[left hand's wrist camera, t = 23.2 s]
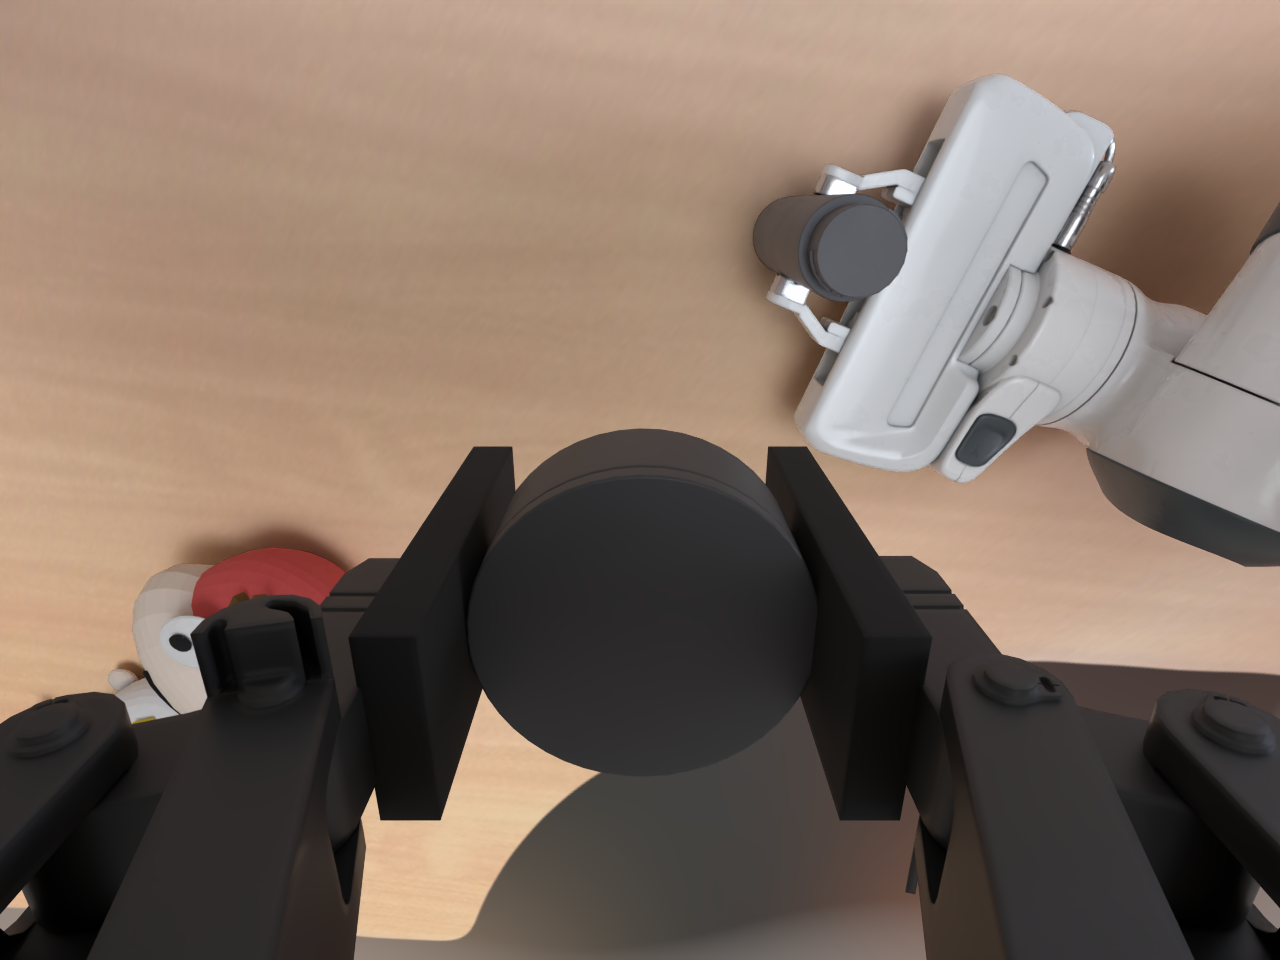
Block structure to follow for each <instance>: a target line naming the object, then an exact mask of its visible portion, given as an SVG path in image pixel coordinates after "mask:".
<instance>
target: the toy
mask: <svg viewBox="0 0 1280 960" xmlns="http://www.w3.org/2000/svg"><path fill="white" fill-rule="evenodd" d="M344 574H345V572H344V571H343V570H342V569H341V568H339V567H338V566H336V565H335V564H333V563H332V562H330V561H328V560H327V559H324V558H322V557H319V556H317V555H314V554H312V553H309V552H304V551H300V550H296V549H285V548H264V549H257V550H251V551H248V552H245V553H242V554H239V555H236V556H234V557H231V558H228V559H226V560H224V561H222V562H220V563H218V564H216V565H203V564H184V563H183V564H179V565H175V566H173V567H170V568H168V569H166V570H164V571H162V572H160V573H157V574H156V575H154V576H153V577H151V578H150V579H149V580H148V582H147V583H146V584H145V586H144V588H143V589H142V591H141V593H140V594H139V596H138V598H137V599H136V601H135V605H134V612H133V627H132V632H133V636H134V640H135V644H136V648H137V652H138V656H139V659H140V662H141V663H142V665H143V667H144V669H145V671H144V676H145V678H143V679H141V680H138V678H137V676H136V675H135V674H134V673H132V672H131V671H129V670H126V669H115V670H113V671H111V672H110V673H109V675H108V681H109V683H110V685H111V686H112V687H113V688H114V689H116V690H117V691H119V692H117V693H116V694H115V696H117V697H118V698H119V699H121V700H122V701H123V702H125V705H126V708H127V711H128V714H129V717H130V720H131V723H132V724H135V723H140V722H145V721H150V720H155V719H160V718H165V717H170V716H175V715H180V714H185V713H189V712H193V711H197V710H200V709H202V707H203V705H204V703H205V701H206V699H207V694H206V691H205V687H204V683H203V680H202V676H201V673H200V669H199V665H198V662H197V658H196V654H195V651H194V647H193V643H192V640H191V636H190V634H191V633H192V631H193V630H194V629H195V628H196V627H197V626H198V625H199V624H200V623H201V622H202V621H203V620H205V619H206V618H208V617H209V616H211V615H213V614H214V613H216V612H218V611H219V610H221V609H223V608H226V607H229V606H231V605H234V604H237V603H239V602H242V601H245V600H249V599H254V598H258V597H263V596H268V595H291V594H293V595H297V596H302V597H307V598H311V599H312V600H313V601H315V602H316V603H317V604H319V605H320V604H321V603H322V602H323V600H324V599H325V598H326V596H329V595H330V594H329V593H330V591H331V590H332V589H333V588H334V586H335V585H336V584H337V582H338V581H339V580H340V579H341V577H342V576H343V575H344Z"/></svg>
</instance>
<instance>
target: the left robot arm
mask: <svg viewBox="0 0 1280 960" xmlns="http://www.w3.org/2000/svg"><path fill="white" fill-rule="evenodd" d="M766 486H767V487H768V489H769V490H770V492H771V493H772V494H773V496H774V497H775V499H776V500H777V502H778V504H779V506H780V508H781V510H782V512H783V514H784V517H785V519H786V521H787V523H788V525H789V528H790V530H791V532H792V534H793V537H794V539H795V541H796V543H797V546H798V548H799V550H800V552H801V554H802V557H803V559H804V561H805V563H806V566H807V568H808V570H809V572H810V575H811V577H812V580H813V583H814V587H815V590H816V593H817V596H818V611H817V621H816V630H815V640H814V649H813V658H812V668H811V675H810V678H809V680H808V682H807V684H806V686H805V688H804V690H803V692H802V694H801V695H800V697H801V700H802V703H803V706H804V709H805V712H806V715H807V718H808V722H809V725H810V728H811V731H812V734H813V737H814V741H815V744H816V747H817V750H818V753H819V756H820V759H821V762H822V766H823V769H824V772H825V775H826V778H827V781H828V784H829V788H830V791H831V794H832V797H833V800H834V803H835V806H836V809H837V813H838V816H839V819H840V820H900V817H901V811H902V806H903V800H904V794H905V789H906V785H907V787H908V789H909V792H910V794H911V796H912V798H913V800H914V803H915V805H916V807H917V809H918V812H919V814H920V816H919V821H918V826H917V831H916V837H915V842H914V847H913V852H912V858H911V863H910V868H909V873H908V879H907V886H906V892H907V893H912V894H915V892H916V887H917V882H918V886H919V895H920V903H921V912H922V922H923V931H924V940H925V949H926V958H927V960H1280V928H1279V929H1277V928H1276V927H1275V926H1274V925H1272V924H1271V923H1270V922H1269V921H1268V920H1267V919H1266V918H1265V917H1264V916H1263V915H1262V913H1261V912H1260V911H1259V910H1258V909H1257V907H1256V906H1255V905H1254V904H1253V902H1254V899H1255V897H1256V895H1257V893H1258V890H1259V888H1260V886H1261V887H1262V888H1263V889H1264V891H1265V892H1266V893H1267V894H1268V895H1269V896H1270V897H1271V899H1272V900H1273V901H1274V902H1275V903H1276V904H1277V905H1278V907H1279V908H1280V719H1278V718H1277V717H1275V716H1274V715H1272V714H1271V713H1269V712H1266V711H1264V710H1262V709H1260V708H1258V707H1256V706H1253V705H1251V704H1250V703H1248V702H1247V701H1245V700H1242V699H1239V698H1236V697H1233V696H1230V697H1229V696H1227V695H1226V694H1222V693H1217V692H1210V691H1202V690H1193V689H1182V690H1175V691H1168V692H1166V693H1165V694H1164V695H1162V696H1161V697H1160V698H1158V699H1157V700H1156V704H1155V707H1154V710H1153V713H1152V716H1151V719H1150V721H1146V720H1141V719H1136V718H1131V717H1126V716H1121V715H1116V714H1111V713H1106V712H1101V711H1096V710H1092V709H1088V708H1084V707H1081V706H1077V704H1076V702H1075V699H1074V697H1073V696H1072V694H1071V693H1070V692H1069V690H1068V689H1067V688H1066V687H1065V685H1064V684H1063V683H1062V682H1061V681H1060V680H1059V679H1057V678H1056V677H1054V676H1053V675H1052V674H1050V673H1049V672H1047V671H1046V670H1045V669H1043V668H1041V667H1038V666H1036V665H1034V664H1031V663H1029V662H1027V661H1025V660H1022V659H1019V658H1015V657H1011V656H1007V655H1002V654H1001V653H1000V651H999V650H998V649H997V647H996V646H995V645H994V644H993V642H992V641H991V640H990V639H989V637H988V636H987V635H986V633H985V632H984V631H983V630H982V628H981V627H980V626H979V625H978V623H977V622H976V621H975V620H974V618H973V617H972V616H971V614H970V613H969V612H968V611H967V609H964V608H963V604H962V603H961V602H960V600H959V599H958V598H957V597H956V595H955V594H952V593H951V589H950V588H949V586H948V585H947V584H946V583H945V581H944V580H943V579H942V578H941V576H940V575H939V574H938V572H936V571H935V570H933V569H932V568H930V567H928V566H927V565H925V564H924V563H922V562H920V561H919V560H917V559H916V558H914V557H912V556H878V554H877V553H876V551H875V550H874V548H873V546H872V545H871V543H870V542H869V540H868V539H867V537H866V536H865V534H864V533H863V531H862V530H861V528H860V527H859V525H858V524H857V522H856V521H855V519H854V518H853V516H852V515H851V513H850V512H849V510H848V509H847V507H846V506H845V504H844V503H843V501H842V500H841V498H840V496H839V495H838V493H837V492H836V490H835V489H834V487H833V486H832V484H831V483H830V481H829V480H828V478H827V477H826V475H825V474H824V472H823V471H822V469H821V468H820V466H819V465H818V463H817V462H816V460H815V459H814V457H813V456H812V454H811V453H810V451H809V450H808V448H807V447H768V457H767V471H766ZM514 493H515V479H514V465H513V450H512V447H473V449H472V450H471V452H470V453H469V455H468V456H467V458H466V459H465V461H464V462H463V464H462V465H461V467H460V468H459V470H458V471H457V473H456V474H455V476H454V477H453V479H452V481H451V482H450V484H449V485H448V487H447V488H446V490H445V491H444V493H443V494H442V496H441V497H440V499H439V500H438V502H437V503H436V505H435V506H434V508H433V509H432V511H431V512H430V514H429V515H428V517H427V518H426V520H425V521H424V523H423V524H422V526H421V527H420V529H419V531H418V532H417V534H416V535H415V537H414V538H413V540H412V541H411V543H410V544H409V546H408V547H407V549H406V550H405V552H404V553H403V555H402V556H401V558H369V559H367V560H366V561H364V562H363V563H361V564H359V565H358V566H356V567H355V568H353V569H351V570H350V571H348V572H347V573H345V574H344V575H343V576H342V577H341V579H340V580H339V581H338V582H337V584H336V585H335V586H334V588H333V589H332V590H331V591H330V593H329V594H330V595H329V596H326V598H325V599H324V600H323V602H322V603H321V604H320V605H319V604H317V603H316V602H315V601H313V600H312V599H311V598H307V597H302V596H297V595H293V594H291V595H268V596H263V597H258V598H254V599H249V600H245V601H242V602H239V603H237V604H234V605H231V606H229V607H226V608H223V609H221V610H219V611H218V612H216V613H214V614H213V615H211V616H209V617H208V618H206V619H205V620H203V621H202V622H201V623H200V624H199V625H198V626H197V627H196V628H195V629H194V630H193V631H192V633H191V634H190V636H191V640H192V643H193V647H194V651H195V654H196V658H197V662H198V665H199V669H200V673H201V676H202V680H203V683H204V687H205V691H206V694H207V699H206V701H205V703H204V705H203V707H202V709H200V710H197V711H193V712H189V713H185V714H180V715H175V716H170V717H165V718H160V719H155V720H150V721H145V722H140V723H135V724H132V723H131V720H130V717H129V714H128V711H127V708H126V705H125V702H123V701H122V700H121V699H119V698H118V697H117V696H115V695H114V694H106V693H99V692H89V693H81V694H73V695H65V696H61V697H56V698H55V699H53V700H52V699H49V700H46V701H44V702H41V703H38V704H36V705H34V706H32V707H31V708H29V709H27V710H24V711H22V712H20V713H18V714H16V715H14V716H12V717H10V718H8V719H7V720H5V721H4V722H2V723H1V724H0V914H1V913H2V912H3V910H4V909H5V908H6V907H7V906H8V905H9V904H10V902H11V901H12V900H13V899H14V898H15V897H16V896H17V894H18V893H19V892H20V891H21V890H22V891H23V893H24V896H25V898H26V900H27V902H28V905H29V906H28V908H27V909H26V910H25V911H24V912H23V914H22V915H21V916H20V917H19V918H18V919H17V921H15V922H14V923H13V924H12V925H11V926H10V927H9V928H7V929H6V930H5V931H3V930H2V929H0V960H354V951H355V942H356V933H357V924H358V915H359V905H360V896H361V887H362V878H363V869H364V860H365V851H366V844H365V838H364V831H363V826H362V821H361V816H362V814H363V812H364V810H365V807H366V805H367V803H368V801H369V798H370V796H371V794H372V792H373V790H374V787H375V792H376V798H377V803H378V809H379V815H380V820H441V817H442V814H443V811H444V808H445V805H446V801H447V798H448V795H449V792H450V789H451V786H452V783H453V780H454V776H455V773H456V770H457V767H458V764H459V761H460V758H461V754H462V751H463V748H464V745H465V742H466V739H467V736H468V732H469V729H470V726H471V723H472V720H473V717H474V714H475V711H476V707H477V704H478V701H479V698H480V695H481V692H482V689H483V688H482V686H481V684H480V683H479V681H478V678H477V675H476V673H475V670H474V667H473V664H472V662H471V657H470V652H469V648H468V643H467V626H466V620H467V610H468V602H469V598H470V594H471V590H472V586H473V583H474V580H475V578H476V576H477V573H478V571H479V569H480V566H481V564H482V562H483V559H484V557H485V555H486V552H487V550H488V548H489V545H490V543H491V541H492V539H493V536H494V534H495V532H496V529H497V527H498V525H499V522H500V520H501V518H502V515H503V513H504V511H505V508H506V506H507V504H508V503H509V501H510V500H511V498H512V496H513V495H514Z"/></svg>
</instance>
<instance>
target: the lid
mask: <svg viewBox="0 0 1280 960" xmlns="http://www.w3.org/2000/svg"><path fill="white" fill-rule="evenodd" d="M817 611H818V596H817V593H816V590H815V587H814V583H813V580H812V577H811V575H810V572H809V570H808V568H807V566H806V563H805V561H804V559H803V557H802V554H801V552H800V550H799V548H798V546H797V543H796V541H795V539H794V537H793V534H792V532H791V530H790V528H789V525H788V523H787V521H786V519H785V517H784V514H783V512H782V510H781V508H780V506H779V504H778V502H777V500H776V499H775V497H774V496H773V494H772V493H771V492H770V490H769V489H768V487H767V486H766V484H765V483H764V482H763V481H762V480H761V479H760V478H759V477H758V476H757V475H756V474H755V472H754V471H753V470H751V469H750V468H749V467H748V466H747V465H745V464H744V463H743V462H742V461H741V460H739V459H738V458H737V457H735V456H733V455H732V454H730V453H729V452H727V451H725V450H724V449H722V448H720V447H718V446H716V445H714V444H712V443H709V442H707V441H705V440H703V439H700V438H697V437H693V436H690V435H687V434H683V433H679V432H673V431H667V430H661V429H629V430H618V431H613V432H609V433H604V434H599V435H596V436H593V437H590V438H587V439H584V440H581V441H579V442H577V443H575V444H573V445H571V446H569V447H567V448H565V449H563V450H561V451H559V452H557V453H556V454H555V455H553V456H552V457H550V458H549V459H547V460H546V461H544V462H543V463H542V464H541V465H540V466H539V467H537V468H536V469H535V470H534V471H533V472H532V473H531V474H530V475H529V476H528V477H527V478H526V479H525V480H524V482H523V483H522V484H521V485H520V486H519V488H518V489H517V490H516V492H515V493H514V495H513V496H512V498H511V500H510V501H509V503H508V504H507V506H506V508H505V511H504V513H503V515H502V518H501V520H500V522H499V525H498V527H497V529H496V532H495V534H494V536H493V539H492V541H491V543H490V545H489V548H488V550H487V552H486V555H485V557H484V559H483V562H482V564H481V566H480V569H479V571H478V573H477V576H476V578H475V580H474V583H473V586H472V590H471V594H470V598H469V602H468V610H467V620H466V626H467V643H468V648H469V652H470V657H471V662H472V664H473V667H474V670H475V673H476V675H477V678H478V681H479V683H480V684H481V686H482V688H483V690H484V692H485V694H486V695H487V697H488V699H489V700H490V702H491V703H492V704H493V706H494V707H495V708H496V710H497V711H498V712H499V714H500V715H501V716H502V717H503V718H504V719H505V720H506V721H507V722H508V723H509V724H510V725H511V726H512V727H513V728H514V729H515V730H516V731H517V732H518V733H520V734H521V735H522V736H523V737H525V738H526V739H527V740H528V741H530V742H531V743H533V744H534V745H536V746H537V747H539V748H541V749H542V750H544V751H545V752H547V753H549V754H551V755H553V756H555V757H557V758H559V759H561V760H563V761H566V762H569V763H571V764H574V765H577V766H580V767H582V768H586V769H590V770H594V771H598V772H602V773H607V774H615V775H622V776H639V777H650V776H665V775H672V774H678V773H684V772H689V771H693V770H697V769H700V768H704V767H707V766H710V765H713V764H715V763H718V762H720V761H723V760H725V759H728V758H730V757H732V756H733V755H735V754H737V753H739V752H741V751H743V750H745V749H746V748H748V747H749V746H751V745H752V744H754V743H755V742H757V741H758V740H759V739H761V738H762V737H764V736H765V735H766V734H767V733H768V732H769V731H770V730H772V729H773V728H774V727H775V726H776V725H777V724H778V723H779V722H780V721H781V720H782V719H783V718H784V717H785V715H786V714H787V713H788V712H789V711H790V710H791V708H792V707H793V706H794V704H795V703H796V701H797V700H798V698H799V697H800V695H801V694H802V692H803V690H804V688H805V686H806V684H807V682H808V680H809V678H810V675H811V668H812V658H813V649H814V640H815V630H816V621H817Z"/></svg>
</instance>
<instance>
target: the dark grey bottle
mask: <svg viewBox="0 0 1280 960" xmlns="http://www.w3.org/2000/svg"><path fill="white" fill-rule="evenodd" d="M907 239H908V237H907V234H906V230H905V226H904V224H903V223H902V221H901V219H900V218H899V216H898V215H897V214H896V213H895V212H894V211H893V210H891V209H890V208H888V207H887V206H886V205H885V204H884V203H882V202H881V201H879V200H878V199H876V198H874V197H871V196H868V195H864V194H834V195H813V196H792V197H784V198H781V199H778V200H776V201H774V202H772V203H771V204H769V205H768V206H767V207H766V208H765V209H764V210H763V211H762V213H761V214H760V216H759V217H758V219H757V221H756V224H755V227H754V232H753V243H754V248H755V251H756V254H757V256H758V257H759V259H760V260H761V262H762V263H763V264H764V265H765V266H767V267H768V268H770V269H771V270H773V271H775V272H777V273H779V274H781V275H783V276H785V277H787V278H789V279H790V280H792V281H794V282H796V283H798V284H800V285H801V286H803V287H805V288H807V289H809V290H811V291H813V292H815V293H816V294H818V295H820V296H822V297H824V298H826V299H829V300H832V301H837V302H851V301H856V300H860V299H863V298H867V297H869V296H872V295H874V294H877V293H879V292H880V291H882V290H883V289H884V288H886V287H887V286H889V285H890V284H891V283H892V281H893V280H894V279H895V278H896V277H897V276H898V274H899V272H900V270H901V268H902V266H903V265H904V263H905V258H906V254H907V252H908V245H907Z"/></svg>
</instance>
